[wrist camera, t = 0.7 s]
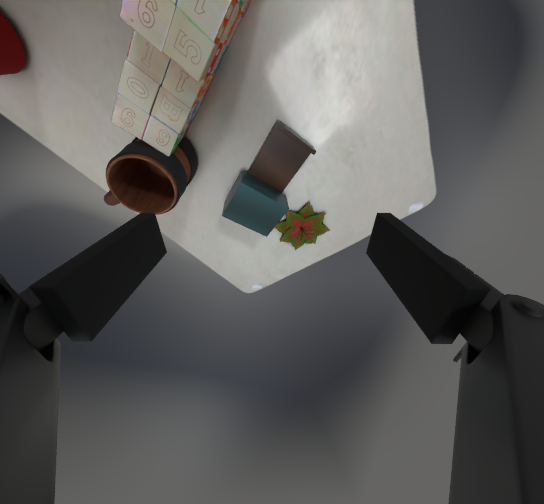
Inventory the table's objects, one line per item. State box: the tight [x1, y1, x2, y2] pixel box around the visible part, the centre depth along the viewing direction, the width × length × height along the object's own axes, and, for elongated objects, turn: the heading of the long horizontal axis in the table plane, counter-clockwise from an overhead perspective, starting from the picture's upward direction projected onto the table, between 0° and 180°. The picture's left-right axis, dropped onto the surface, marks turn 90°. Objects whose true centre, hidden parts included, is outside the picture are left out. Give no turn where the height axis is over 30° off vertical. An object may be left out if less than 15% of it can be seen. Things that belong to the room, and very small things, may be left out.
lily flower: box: [275, 202, 330, 250], centre depth 43 cm, size 12×12×5 cm
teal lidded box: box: [222, 120, 316, 236], centre depth 35 cm, size 17×9×6 cm, turn 147°
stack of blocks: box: [111, 0, 251, 156], centre depth 20 cm, size 21×6×12 cm, turn 141°
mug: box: [104, 136, 198, 215], centre depth 29 cm, size 9×12×12 cm
